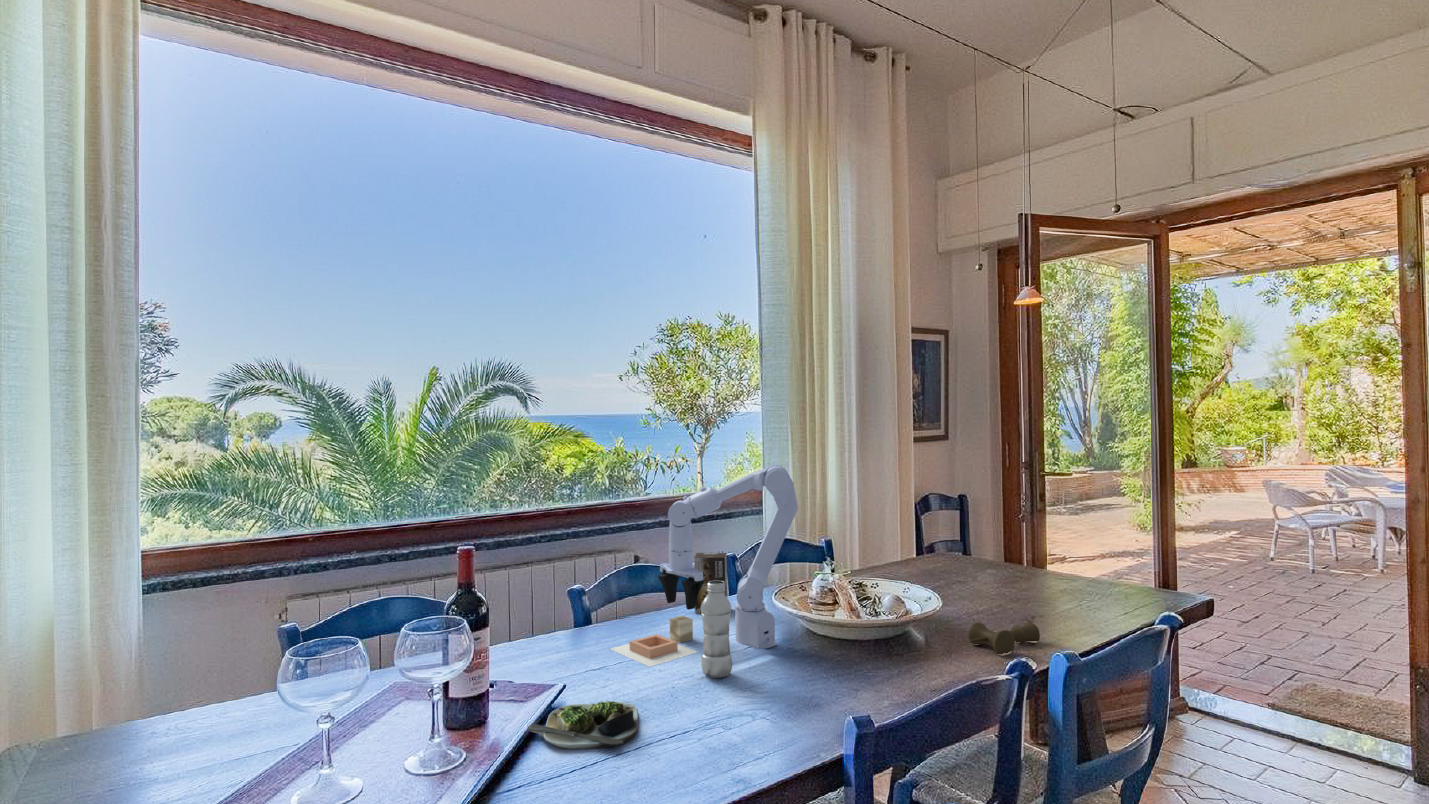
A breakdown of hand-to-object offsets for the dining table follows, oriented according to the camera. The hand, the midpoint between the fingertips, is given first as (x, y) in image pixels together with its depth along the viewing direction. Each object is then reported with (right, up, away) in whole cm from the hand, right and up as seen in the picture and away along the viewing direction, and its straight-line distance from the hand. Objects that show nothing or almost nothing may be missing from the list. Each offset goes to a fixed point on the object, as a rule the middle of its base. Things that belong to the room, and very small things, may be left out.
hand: (680, 605), depth 171 cm
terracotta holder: (-6, -8, -8) cm, 13 cm away
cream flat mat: (-6, -9, -8) cm, 14 cm away
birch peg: (0, -9, 0) cm, 9 cm away
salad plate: (-13, -9, -47) cm, 50 cm away
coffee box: (+7, -10, +28) cm, 30 cm away
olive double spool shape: (+77, -9, -5) cm, 78 cm away
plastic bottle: (+9, -9, -22) cm, 25 cm away
